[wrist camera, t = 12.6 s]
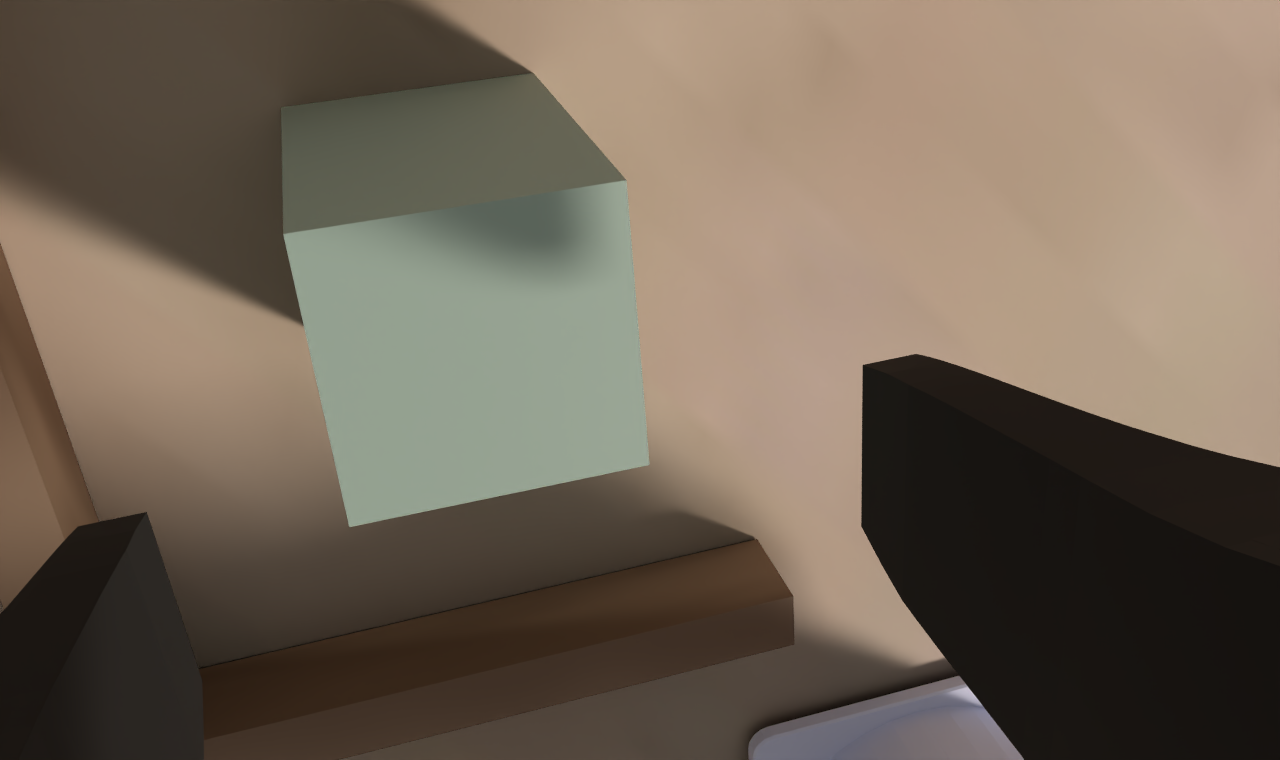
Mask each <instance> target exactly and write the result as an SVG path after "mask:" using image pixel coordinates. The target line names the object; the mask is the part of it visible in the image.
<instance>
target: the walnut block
mask: <svg viewBox="0 0 1280 760" xmlns="http://www.w3.org/2000/svg"><path fill="white" fill-rule="evenodd" d="M96 522H99V521H98V518H97V515H96V512H95V509H94V506H93V504H92V501H91V498H90V495H89V492H88V489H87V487H86V484H85V481H84V478H83V475H82V473H81V470H80V467H79V464H78V461H77V458H76V456H75V453H74V450H73V447H72V444H71V442H70V439H69V436H68V433H67V430H66V427H65V425H64V422H63V419H62V416H61V413H60V411H59V408H58V405H57V402H56V399H55V396H54V394H53V391H52V388H51V385H50V382H49V379H48V377H47V374H46V371H45V368H44V365H43V363H42V360H41V357H40V354H39V351H38V348H37V346H36V343H35V340H34V337H33V334H32V332H31V329H30V326H29V323H28V320H27V317H26V315H25V312H24V309H23V306H22V303H21V301H20V298H19V295H18V292H17V289H16V286H15V284H14V281H13V278H12V275H11V272H10V269H9V267H8V264H7V261H6V258H5V255H4V253H3V250H2V247H1V244H0V601H1V603H2V606H3V608H4V609H5V608H6V607H7V606H8V605H9V604H10V603H11V602H12V600H13V599H14V598H15V597H16V596H17V595H18V593H19V592H20V591H21V590H22V589H23V588H24V586H25V585H26V584H27V583H28V582H29V581H30V579H31V578H32V577H33V576H34V575H35V574H36V572H37V571H38V570H39V569H40V568H41V567H42V565H43V564H44V563H45V562H46V561H47V560H48V558H49V557H50V556H51V555H52V554H53V553H54V551H55V550H56V549H57V548H58V547H59V546H60V545H61V544H62V542H63V541H64V540H65V539H66V538H67V537H68V536H69V535H70V534H71V533H72V532H73V531H74V530H75V529H76V528H77V527H78V526H82V525H87V524H92V523H96ZM790 645H794V610H793V595H792V594H791V592H790V590H789V589H788V587H787V586H786V584H785V583H784V581H783V579H782V578H781V576H780V575H779V573H778V571H777V570H776V568H775V567H774V565H773V564H772V562H771V560H770V559H769V557H768V556H767V554H766V553H765V551H764V549H763V548H762V546H761V545H760V543H759V542H758V540H757V539H756V540H751V541H747V542H743V543H739V544H734V545H730V546H726V547H721V548H717V549H713V550H708V551H704V552H700V553H696V554H691V555H687V556H683V557H678V558H674V559H670V560H665V561H661V562H657V563H653V564H648V565H644V566H640V567H635V568H631V569H627V570H623V571H618V572H614V573H610V574H605V575H601V576H597V577H592V578H588V579H584V580H580V581H575V582H571V583H567V584H562V585H558V586H554V587H550V588H545V589H541V590H537V591H532V592H528V593H524V594H519V595H515V596H511V597H507V598H502V599H498V600H494V601H489V602H485V603H481V604H477V605H472V606H468V607H464V608H459V609H455V610H451V611H446V612H442V613H438V614H434V615H429V616H425V617H421V618H416V619H412V620H408V621H403V622H399V623H395V624H391V625H386V626H382V627H378V628H373V629H369V630H365V631H361V632H356V633H352V634H348V635H343V636H339V637H335V638H330V639H326V640H322V641H318V642H313V643H309V644H305V645H300V646H296V647H292V648H288V649H283V650H279V651H275V652H270V653H266V654H262V655H257V656H253V657H249V658H245V659H240V660H236V661H232V662H227V663H223V664H219V665H214V666H210V667H206V668H202V669H198V670H199V673H200V676H201V679H202V689H203V724H204V760H339V759H343V758H347V757H351V756H355V755H359V754H363V753H367V752H371V751H375V750H379V749H383V748H387V747H390V746H394V745H398V744H402V743H406V742H410V741H414V740H418V739H422V738H426V737H430V736H434V735H438V734H442V733H446V732H450V731H454V730H458V729H462V728H466V727H470V726H473V725H477V724H481V723H485V722H489V721H493V720H497V719H501V718H505V717H509V716H513V715H517V714H521V713H525V712H529V711H533V710H537V709H541V708H545V707H549V706H553V705H556V704H560V703H564V702H568V701H572V700H576V699H580V698H584V697H588V696H592V695H596V694H600V693H604V692H608V691H612V690H616V689H620V688H624V687H628V686H632V685H636V684H639V683H643V682H647V681H651V680H655V679H659V678H663V677H667V676H671V675H675V674H679V673H683V672H687V671H691V670H695V669H699V668H703V667H707V666H711V665H715V664H719V663H722V662H726V661H730V660H734V659H738V658H742V657H746V656H750V655H754V654H758V653H762V652H766V651H770V650H774V649H778V648H782V647H786V646H790Z"/></svg>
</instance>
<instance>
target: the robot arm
mask: <svg viewBox="0 0 1280 760" xmlns="http://www.w3.org/2000/svg"><path fill="white" fill-rule="evenodd" d="M861 527H862V528H863V530H864V532H865V534H866V536H867V538H868V540H869V542H870V543H871V545H872V547H873V549H874V551H875V553H876V555H877V557H878V558H879V560H880V562H881V564H882V566H883V568H884V570H885V571H886V573H887V575H888V576H889V578H890V580H891V582H892V583H893V585H894V587H895V589H896V590H897V592H898V594H899V595H900V597H901V599H902V601H903V602H904V603H905V605H906V606H907V607H908V609H909V610H910V611H911V613H912V614H913V616H914V617H915V618H916V620H917V621H918V622H919V624H920V625H921V626H922V627H923V629H924V630H925V631H926V633H927V634H928V635H929V637H930V638H931V639H932V641H933V642H934V643H935V645H936V646H937V647H938V649H939V650H940V651H941V653H942V654H943V655H944V657H945V658H946V659H947V660H948V662H949V663H950V664H951V666H952V667H953V668H954V669H955V671H956V672H957V673H958V675H959V676H956V677H952V678H948V679H945V680H941V681H937V682H933V683H930V684H926V685H922V686H918V687H915V688H911V689H907V690H903V691H900V692H896V693H892V694H888V695H884V696H881V697H877V698H873V699H869V700H866V701H862V702H858V703H854V704H851V705H847V706H843V707H839V708H836V709H832V710H828V711H824V712H821V713H817V714H813V715H809V716H806V717H802V718H798V719H794V720H791V721H787V722H783V723H779V724H776V725H772V726H768V727H766V728H763V729H761V730H759V731H758V732H757V733H756V734H755V735H754V736H753V737H752V739H751V740H750V742H749V747H748V754H749V760H1280V467H1276V466H1271V465H1267V464H1263V463H1258V462H1254V461H1250V460H1246V459H1241V458H1237V457H1233V456H1228V455H1225V454H1221V453H1217V452H1213V451H1210V450H1206V449H1202V448H1198V447H1195V446H1191V445H1188V444H1185V443H1181V442H1178V441H1175V440H1172V439H1168V438H1165V437H1162V436H1158V435H1155V434H1152V433H1149V432H1145V431H1142V430H1139V429H1136V428H1132V427H1129V426H1126V425H1123V424H1120V423H1117V422H1114V421H1111V420H1108V419H1105V418H1102V417H1099V416H1096V415H1094V414H1091V413H1088V412H1085V411H1082V410H1079V409H1076V408H1074V407H1071V406H1068V405H1065V404H1063V403H1060V402H1057V401H1054V400H1051V399H1049V398H1046V397H1043V396H1040V395H1038V394H1035V393H1032V392H1030V391H1027V390H1024V389H1021V388H1019V387H1016V386H1013V385H1010V384H1008V383H1005V382H1002V381H1000V380H997V379H994V378H991V377H989V376H986V375H983V374H980V373H978V372H975V371H972V370H969V369H966V368H963V367H960V366H957V365H954V364H951V363H948V362H945V361H941V360H938V359H935V358H931V357H927V356H923V355H918V354H914V355H909V356H904V357H899V358H895V359H890V360H885V361H880V362H875V363H870V364H865V365H863V402H862V523H861ZM0 760H204V724H203V689H202V679H201V676H200V673H199V670H198V666H197V663H196V660H195V657H194V654H193V651H192V648H191V645H190V642H189V639H188V636H187V633H186V630H185V627H184V624H183V621H182V618H181V615H180V612H179V609H178V606H177V603H176V600H175V597H174V594H173V591H172V588H171V585H170V582H169V579H168V576H167V572H166V569H165V566H164V563H163V560H162V557H161V554H160V551H159V548H158V545H157V542H156V539H155V536H154V533H153V530H152V527H151V524H150V521H149V518H148V515H147V512H145V513H140V514H135V515H131V516H126V517H121V518H116V519H111V520H106V521H101V522H96V523H92V524H87V525H82V526H78V527H77V528H76V529H75V530H74V531H73V532H72V533H71V534H70V535H69V536H68V537H67V538H66V539H65V540H64V541H63V542H62V544H61V545H60V546H59V547H58V548H57V549H56V550H55V551H54V553H53V554H52V555H51V556H50V557H49V558H48V560H47V561H46V562H45V563H44V564H43V565H42V567H41V568H40V569H39V570H38V571H37V572H36V574H35V575H34V576H33V577H32V578H31V579H30V581H29V582H28V583H27V584H26V585H25V586H24V588H23V589H22V590H21V591H20V592H19V593H18V595H17V596H16V597H15V598H14V599H13V600H12V602H11V603H10V604H9V605H8V606H7V607H6V608H5V609H4V611H3V612H2V613H1V614H0Z"/></svg>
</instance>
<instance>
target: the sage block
mask: <svg viewBox="0 0 1280 760" xmlns="http://www.w3.org/2000/svg"><path fill="white" fill-rule="evenodd" d="M281 133H282V194H283V236H284V240H285V244H286V249H287V253H288V258H289V262H290V267H291V271H292V275H293V280H294V284H295V289H296V293H297V298H298V302H299V306H300V311H301V315H302V320H303V324H304V329H305V333H306V337H307V342H308V346H309V351H310V355H311V360H312V364H313V368H314V373H315V377H316V382H317V386H318V391H319V395H320V399H321V404H322V408H323V413H324V417H325V422H326V426H327V430H328V435H329V439H330V444H331V448H332V453H333V457H334V461H335V466H336V470H337V475H338V479H339V484H340V488H341V492H342V497H343V501H344V506H345V510H346V515H347V519H348V524H349V527H353V526H358V525H363V524H367V523H372V522H377V521H382V520H387V519H392V518H396V517H401V516H406V515H411V514H416V513H420V512H425V511H430V510H435V509H440V508H445V507H449V506H454V505H459V504H464V503H469V502H473V501H478V500H483V499H488V498H493V497H498V496H502V495H507V494H512V493H517V492H522V491H527V490H531V489H536V488H541V487H546V486H551V485H555V484H560V483H565V482H570V481H575V480H580V479H584V478H589V477H594V476H599V475H604V474H609V473H613V472H618V471H623V470H628V469H633V468H637V467H642V466H647V465H649V453H648V441H647V429H646V416H645V404H644V392H643V379H642V367H641V355H640V342H639V330H638V318H637V305H636V293H635V280H634V268H633V256H632V243H631V231H630V219H629V206H628V194H627V182H626V179H625V178H624V177H623V176H622V175H621V173H620V172H619V171H618V170H617V169H616V168H615V167H614V165H613V164H612V163H611V162H610V161H609V160H608V158H607V157H606V156H605V155H604V154H603V153H602V152H601V150H600V149H599V148H598V147H597V146H596V145H595V143H594V142H593V141H592V140H591V139H590V138H589V137H588V135H587V134H586V133H585V132H584V131H583V130H582V129H581V127H580V126H579V125H578V124H577V123H576V122H575V120H574V119H573V118H572V117H571V116H570V115H569V114H568V112H567V111H566V110H565V109H564V108H563V107H562V105H561V104H560V103H559V102H558V101H557V100H556V99H555V97H554V96H553V95H552V94H551V93H550V92H549V91H548V89H547V88H546V87H545V86H544V85H543V84H542V82H541V81H540V80H539V79H538V78H537V77H536V76H535V74H534V73H528V74H521V75H513V76H506V77H499V78H492V79H484V80H477V81H470V82H462V83H455V84H448V85H440V86H433V87H426V88H418V89H411V90H404V91H397V92H389V93H382V94H375V95H367V96H360V97H353V98H345V99H338V100H331V101H324V102H316V103H309V104H302V105H294V106H287V107H281Z"/></svg>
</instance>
